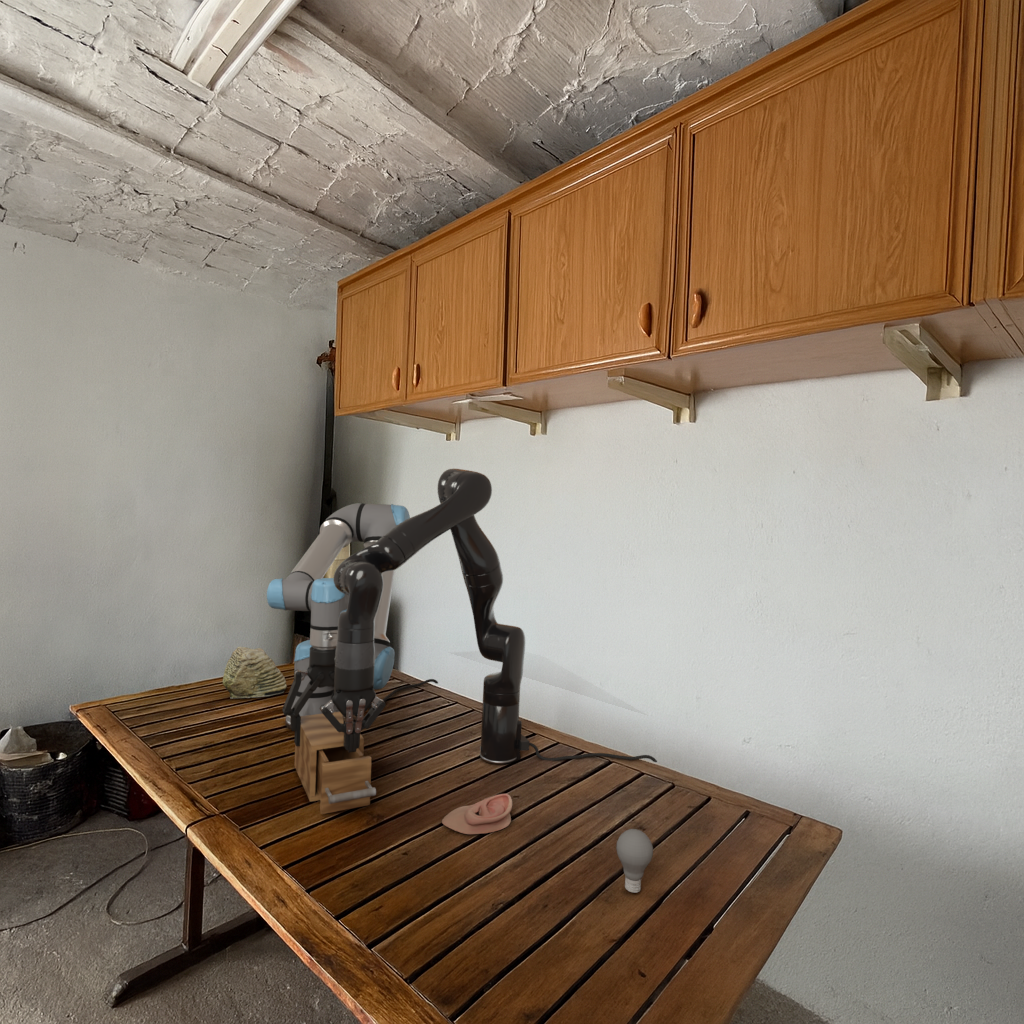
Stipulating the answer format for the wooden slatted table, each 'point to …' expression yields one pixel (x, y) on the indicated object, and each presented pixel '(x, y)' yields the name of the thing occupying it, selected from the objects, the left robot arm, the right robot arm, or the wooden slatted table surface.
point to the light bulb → (634, 857)
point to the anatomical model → (481, 816)
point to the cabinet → (316, 748)
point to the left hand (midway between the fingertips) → (323, 740)
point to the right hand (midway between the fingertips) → (351, 750)
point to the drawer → (343, 779)
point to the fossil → (252, 674)
